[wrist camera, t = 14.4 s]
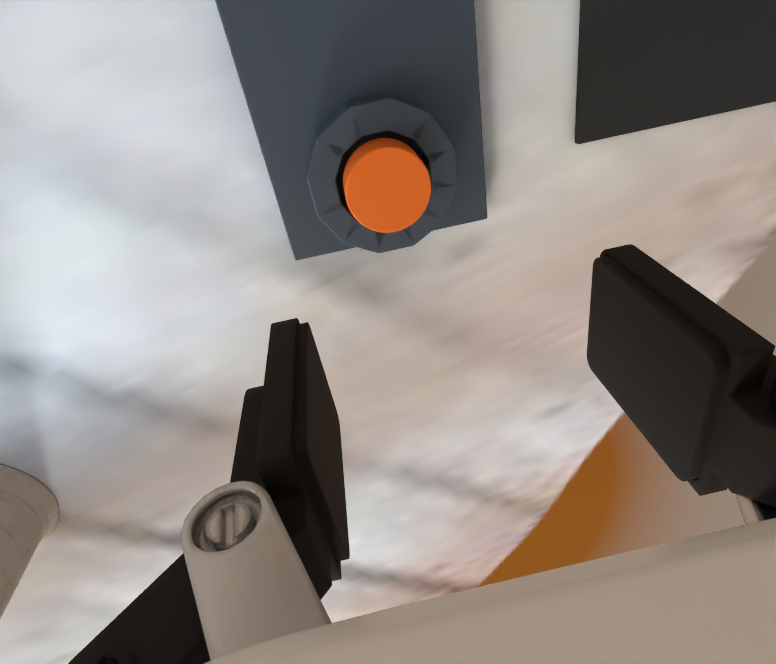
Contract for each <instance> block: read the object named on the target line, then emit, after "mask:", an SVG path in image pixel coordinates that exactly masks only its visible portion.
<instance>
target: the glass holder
mask: <svg viewBox="0 0 776 664" xmlns="http://www.w3.org/2000/svg"><path fill="white" fill-rule="evenodd" d="M59 513H60V511H59V505H58V503H57V501H56V499H55V497H54V496H53V494H52V493H51V492H50V491H49V489H47V488H46V487H45V486H44V485H43V484H42V483H40V482H39V481H37V480H36V479H34V478H33V477H31V476H29V475H27V474H25V473H23V472H21V471H19V470H16V469H13V468H11V467H8V466H4V465H1V464H0V618H1V616H2V614H3V612H4V610H5V608H6V607H7V605H8V603H9V601H10V599H11V597H12V595H13V593H14V591H15V589H16V587H17V585H18V583H19V581H20V579H21V577H22V575H23V573H24V571H25V569H26V567H27V565H28V563H29V561H30V559H31V557H32V555H33V553H34V551H35V549H36V547H37V546H38V544H39V542H40V541H41V540H42V539H43V538H44V537H45V536H47V535H48V534H49V533H50V532H51V531H52V530H53V528H54V527H55V526H56V524H57V522H58V520H59Z"/></svg>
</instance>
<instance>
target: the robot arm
mask: <svg viewBox="0 0 776 664" xmlns="http://www.w3.org/2000/svg"><path fill="white" fill-rule="evenodd" d="M774 348H775V346H774V345H773V344H772V343H770V342H769V341H767V340H766V339H764V338H763V337H762V336H760V335H759V334H758V333H756V332H755V331H753V330H752V329H751V328H749V327H748V326H746V325H745V324H744V323H742V322H741V321H739V320H738V319H737V318H735V317H734V316H732V315H731V314H729V313H728V312H727V311H725V310H724V309H722V308H721V307H720V306H718V305H717V304H715V303H714V302H713V301H711V300H710V299H708V298H707V297H706V296H704V295H703V294H701V293H700V292H699V291H697V290H696V289H694V288H693V287H692V286H690V285H689V284H687V283H686V282H684V281H683V280H682V279H680V278H679V277H677V276H676V275H675V274H673V273H672V272H670V271H669V270H668V269H666V268H665V267H663V266H662V265H661V264H659V263H658V262H656V261H655V260H654V259H652V258H651V257H649V256H648V255H647V254H645V253H644V252H642V251H641V250H639V249H638V248H637V247H635V246H634V245H631V244H630V245H624V246H620V247H615V248H611V249H606V250H604V251H603V252H602V253H601V255H600V258H596V259H595V261H594V263H593V274H592V288H591V302H590V317H589V331H588V345H587V360H588V364H589V366H590V368H591V370H592V371H593V373H594V374H595V375H596V376H597V378H598V379H599V380H600V381H601V383H602V384H603V385H604V386H605V388H606V389H607V390H608V391H609V393H610V394H611V395H612V396H613V398H614V399H615V400H616V401H617V403H618V404H619V405H620V406H621V408H622V409H623V410H624V412H625V413H626V414H627V415H628V417H629V418H630V419H631V420H632V422H633V423H634V424H635V425H636V427H637V428H638V429H639V430H640V431H641V433H642V434H643V435H644V437H645V438H646V439H647V440H648V442H649V443H650V444H651V445H652V447H653V448H654V449H655V450H656V452H657V453H658V454H659V456H660V457H661V458H662V459H663V460H664V462H665V463H666V464H667V465H668V467H669V468H670V469H671V470H672V472H673V473H674V474H675V476H676V477H677V478H678V479H680V480H681V481H688V482H689V483H690V485H691V486H692V487H693V488H694V489H695V491H696V492H697V493H698V494H699V495H700V496H701V495H706V494H710V493H714V492H718V491H723V490H726V489H727V488H728V489H729V490H730V491H731V492H732V493H735V494H736V498H737V502H738V505H739V508H740V510H741V513H742V516H743V519H744V522H745V525H742V526H738V527H734V528H729V529H725V530H721V531H716V532H712V533H707V534H703V535H699V536H695V537H690V538H686V539H682V540H677V541H673V542H669V543H664V544H660V545H656V546H652V547H647V548H643V549H639V550H634V551H630V552H626V553H621V554H617V555H613V556H609V557H604V558H600V559H596V560H592V561H587V562H583V563H579V564H574V565H570V566H566V567H562V568H557V569H553V570H549V571H545V572H541V573H536V574H532V575H528V576H524V577H519V578H515V579H511V580H507V581H503V582H498V583H494V584H490V585H486V586H482V587H477V588H473V589H469V590H465V591H461V592H457V593H452V594H448V595H444V596H440V597H436V598H431V599H427V600H423V601H419V602H415V603H410V604H406V605H402V606H398V607H394V608H389V609H385V610H382V611H378V612H374V613H370V614H366V615H362V616H358V617H354V618H350V619H347V620H343V621H339V622H335V623H331V621H330V619H329V617H328V615H327V613H326V611H325V608H324V606H323V604H322V602H321V599H322V597H323V596H324V595H325V594H326V592H327V591H328V590H329V588H330V587H331V586H332V581H334V580H339V579H341V563H340V561H341V560H346V559H349V555H350V554H349V539H348V526H347V513H346V500H345V487H344V474H343V461H342V448H341V435H340V424H339V418H338V414H337V410H336V407H335V404H334V401H333V398H332V395H331V391H330V388H329V385H328V382H327V379H326V376H325V373H324V369H323V366H322V363H321V360H320V357H319V354H318V350H317V347H316V344H315V341H314V338H313V335H312V332H311V328H310V326H309V323H308V322H307V323H303V324H300V323H299V321H298V319H297V318H295V319H290V320H286V321H281V322H277V323H273V324H271V330H270V338H269V347H268V355H267V363H266V372H265V380H264V386H260V387H255V388H251V389H248V390H247V391H246V393H245V396H244V402H243V408H242V414H241V420H240V426H239V432H238V438H237V444H236V450H235V456H234V462H233V468H232V474H231V480H230V483H228V484H226V485H223V486H221V487H218V488H216V489H214V490H213V491H211V492H210V493H208V494H207V495H205V496H204V497H203V498H202V499H201V500H200V501H199V502H198V503H197V504H196V505H195V506H194V507H193V508H192V509H191V511H190V512H189V514H188V516H187V517H186V519H185V521H184V524H183V527H182V530H181V545H182V549H183V554H182V555H181V556H180V557H179V558H178V559H177V560H176V561H175V562H174V563H173V564H172V565H171V566H170V567H169V568H167V569H166V570H165V571H164V572H163V573H162V574H161V575H160V576H159V577H158V578H157V579H156V580H155V581H154V582H153V583H152V584H151V585H150V586H149V587H148V588H147V589H145V590H144V591H143V592H142V593H141V594H140V595H139V596H138V597H137V598H136V599H135V600H134V601H133V602H132V603H131V604H130V605H129V606H128V607H127V608H126V609H125V610H123V611H122V612H121V613H120V614H119V615H118V616H117V617H116V618H115V619H114V620H113V621H112V622H111V623H110V624H109V625H108V626H107V627H106V628H105V629H104V630H103V631H101V632H100V633H99V634H98V635H97V636H96V637H95V638H94V639H93V640H92V641H91V642H90V643H89V644H88V645H87V646H86V647H85V648H84V649H83V650H82V651H81V652H79V653H78V654H77V655H76V656H75V657H74V658H73V659H72V660H71V661H70V662H69V663H68V664H776V356H775V355H773V351H774Z"/></svg>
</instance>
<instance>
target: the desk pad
mask: <svg viewBox="0 0 776 664" xmlns="http://www.w3.org/2000/svg"><path fill="white" fill-rule="evenodd" d="M775 101H776V0H580V24H579V49H578V74H577V98H576V123H575V143H577V144H581V143H586V142H590V141H595V140H599V139H604V138H609V137H613V136H618V135H623V134H627V133H632V132H636V131H641V130H646V129H650V128H655V127H659V126H664V125H669V124H673V123H678V122H682V121H687V120H692V119H696V118H701V117H705V116H710V115H715V114H719V113H724V112H728V111H733V110H738V109H742V108H747V107H752V106H756V105H761V104H765V103H770V102H775Z"/></svg>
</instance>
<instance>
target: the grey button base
mask: <svg viewBox="0 0 776 664" xmlns="http://www.w3.org/2000/svg"><path fill="white" fill-rule="evenodd" d="M215 1H216V4H217V8H218V11H219V14H220V17H221V21H222V24H223V27H224V30H225V34H226V37H227V40H228V43H229V47H230V50H231V53H232V56H233V59H234V63H235V66H236V69H237V72H238V76H239V79H240V82H241V85H242V89H243V92H244V95H245V98H246V102H247V105H248V108H249V111H250V115H251V118H252V121H253V124H254V128H255V131H256V134H257V137H258V141H259V144H260V147H261V150H262V154H263V157H264V160H265V163H266V166H267V170H268V173H269V176H270V179H271V183H272V186H273V189H274V192H275V196H276V199H277V202H278V205H279V209H280V212H281V215H282V218H283V222H284V225H285V228H286V231H287V235H288V238H289V241H290V244H291V248H292V251H293V254H294V257H295V260H300V259H305V258H309V257H314V256H318V255H323V254H328V253H332V252H337V251H341V250H346V249H350V248H355V247H359V248H362V249H366V250H369V251H373V252H376V253H378V252H379V253H382V252H386V251H391V250H395V249H400V248H404V247H409V246H413V245H415V244H416V243H418V242H419V241H420V240H421V239H422V238H424V237H425V236H426V235H427V234H428V233H430V232H431V231H433V230H437V229H442V228H446V227H451V226H455V225H460V224H464V223H469V222H474V221H478V220H483V219H487V205H486V189H485V173H484V157H483V140H482V124H481V108H480V91H479V75H478V59H477V43H476V26H475V10H474V0H215ZM377 138H393V139H396V140H399V141H402V142H404V143H405V144H407V145H408V146H409V147H411V148H412V149H413V150H414V152H415V153H416V154H417V155H418V157H419V158H420V159H421V160H422V162H423V163H424V165H425V166H426V168H427V170H428V173H429V176H430V180H431V195H430V200H429V203H428V205H427V207H426V209H425V211H424V213H423V214H422V215H421V217H420V218H419V219H418V220H417V221H416V222H415V223H413V224H412V225H411V226H409V227H407V228H405V229H403V230H400V231H396V232H391V233H383V232H377V231H373V230H370V229H368V228H366V227H365V226H363V225H362V224H360V223H359V222H358V221H357V220H356V219H355V218H354V216H353V215H352V213H351V212H350V210H349V208H348V205H347V202H346V197H345V192H344V187H343V173H344V169H345V166H346V163H347V161H348V159H349V157H350V156H351V155H352V153H353V152H354V151H355V150H356V149H357V148H358V147H359V146H361V145H362V144H364V143H366V142H368V141H370V140H373V139H377Z"/></svg>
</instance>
